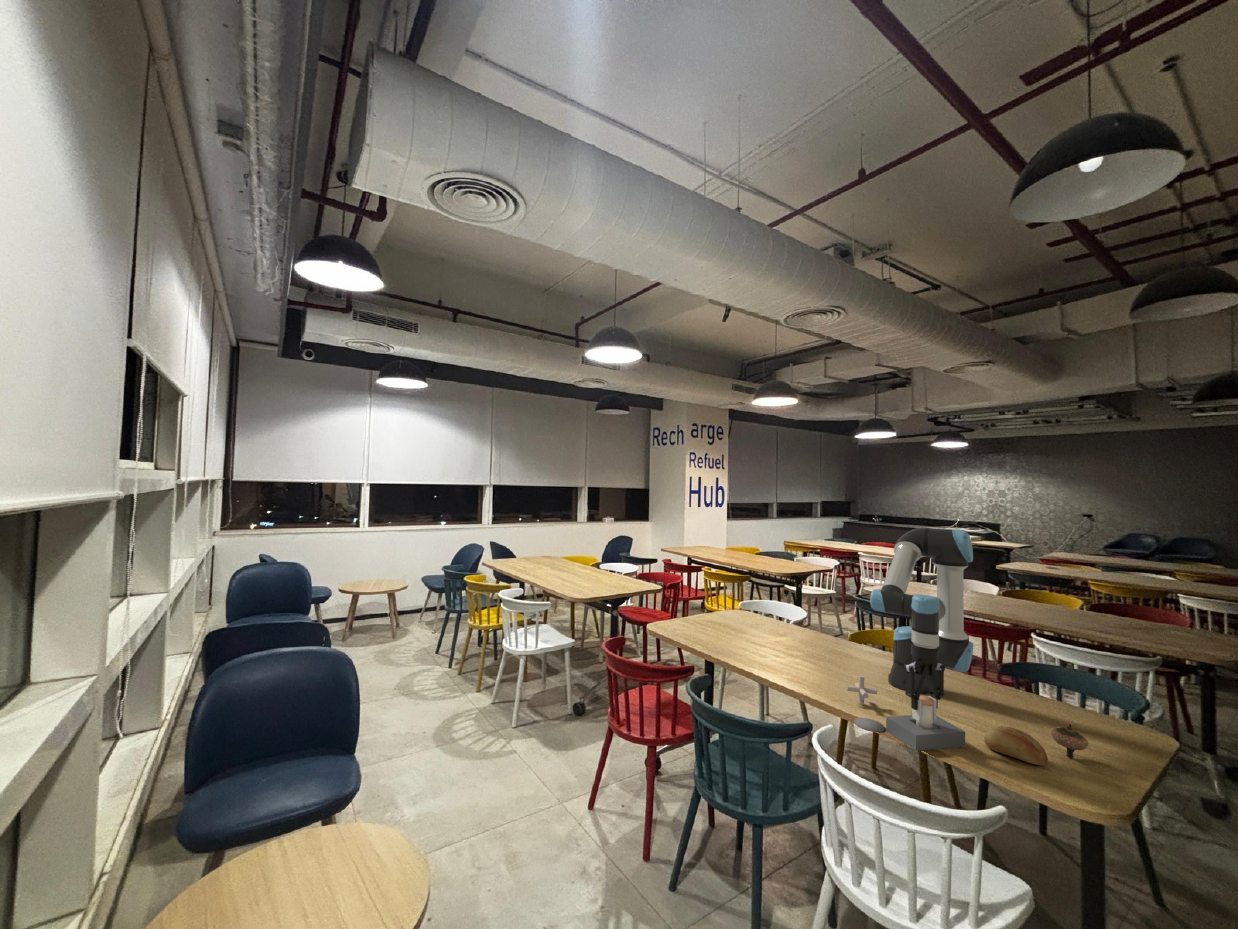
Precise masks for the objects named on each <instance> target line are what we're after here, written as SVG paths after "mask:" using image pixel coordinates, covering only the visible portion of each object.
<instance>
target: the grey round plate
mask: <svg viewBox="0 0 1238 929" xmlns="http://www.w3.org/2000/svg"><path fill="white" fill-rule="evenodd" d="M853 722H854V724H855V725H856V726H857V728H860V729H862V730H864V731H867V732H870V733H882V732H884V731H886V726H884V724H883V723H881V722H880V721H877V720H875V719H872V718H868V717H857V718H854V721H853ZM866 727H869V728H866Z"/></svg>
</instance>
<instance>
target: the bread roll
mask: <svg viewBox="0 0 1238 929" xmlns="http://www.w3.org/2000/svg"><path fill="white" fill-rule="evenodd" d="M983 740H984V743H985V746H986V747H987V748H989V749H990V750H992V751H995V752H997V753H1000V754H1003V755H1006V756H1009V757H1012V758H1015V759H1018V760H1020V761H1023V762H1025V763H1029V764H1032V765H1036V766H1046V765H1047V764H1048V761H1049V760H1048V759H1049V758H1048V755H1047V753H1046V750H1045V748H1044V747H1043V746H1042V744H1040V742H1039V741H1038V740H1036V739H1035V737H1033V736H1031V735H1030V734H1029V733H1027V732H1024V730H1021V729H1018V728H1015V727H1011V726H1004V725H1003V726H995V727H991V728H990V729H989V730H988V731H987V732H986V733H985V735H984V739H983Z"/></svg>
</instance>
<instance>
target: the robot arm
mask: <svg viewBox="0 0 1238 929" xmlns="http://www.w3.org/2000/svg"><path fill="white" fill-rule="evenodd" d="M893 552H894V555H893V558H892V561H891V562H890V565H889V568H888V570H887V573H886V576H885V579H884V581H883V583H882V585H881V586H882V587H881V589H880V588H879V589H877V588H876V589H872V591H871V593H870V597H869V603H870V607H871V609H872V610H873V611H877V612H881V613H885V614H892V615H896V616H897V615H898V616H904V617H909V618H911V626H910V625H909V626H907V625H906V626H899V627H896V628H894V630H893V638H892V641H893V645H892V646H893V649H892V650H893V651H892V653H893V655H892V656H893V659H892V660H893V661H892V665H891V668H890V672H889V673H888V676H887V681H888V683H889V685H891V686H893V687H895V688H897V689H899V690H902V691H905V692H904V694H905V695H906V696H907V697H909V698H910V703H911V704H910V707H911V709H912V710H911V711H912V714H911V715H912V718H914V719H915V720H917V721H919V722H921V700H920V699H919V697H920V695H921V694H927V693H929V695H926V696H927V697H930V698H932V699H933V700H934V705H933V720H934V721H936V716H937V709H938V707H939V706H938V705H939V704H938V703H939V701H941V700H942V697H944V696H945V694H944V693H945V688H944V687H945V680H944V677H945V675H944V674H945V670H946V669H948V670H952V672H953V671H954V672H955V671H956V672H962V673H966V672H968V671H969V669H970V667H971V663H972V658H973V653H974V643H973V642H972V641H969V635H968V634H967V633H966V632H965V631H964V630H965V629H964V628H965V625H964V617H965V616H964V614H965V613H964V612H965V611H964V609H965V608H964V571H965V569H967V568H968V567H969V563H973V561H974V549H973V543H972V539H971V536H970V534H969V533H968V532H967V531H964V530H959V529H950V528H949V529H948V528H947V529H946V528H934V527H933V528H929V527H919V528H918V527H917V528H914V529H911V530H908V532H906V533H904V534H902V536H900V537H899V538H898V540H896V543H895V545H894V548H893ZM921 558H930V559H931V558H932V560H931V562H932V563H931V564H933V565H934V566H935V567H936V596H933V595H929V594H914V595H913V594H908V593H907V590H908V587H909V583H910V581H911V578H912V575H913V572H914V569H915V566H916V563H917V562H918V561H919V560H920V559H921Z"/></svg>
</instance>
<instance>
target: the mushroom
mask: <svg viewBox="0 0 1238 929" xmlns="http://www.w3.org/2000/svg"><path fill="white" fill-rule="evenodd" d="M927 696H928V695H922V694H920V697H919V699H920V700H921V722H919V721H917V720H916V725H918V726H920V727H921V728H923V729H932V724H933V705H934V700H933V699H932V698H930V697H931V696H930V697H927Z"/></svg>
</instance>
